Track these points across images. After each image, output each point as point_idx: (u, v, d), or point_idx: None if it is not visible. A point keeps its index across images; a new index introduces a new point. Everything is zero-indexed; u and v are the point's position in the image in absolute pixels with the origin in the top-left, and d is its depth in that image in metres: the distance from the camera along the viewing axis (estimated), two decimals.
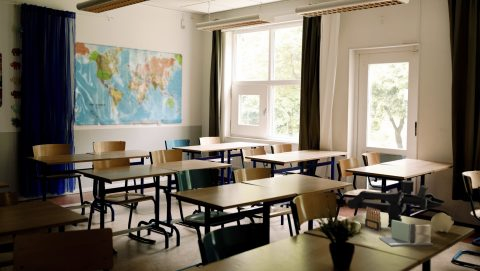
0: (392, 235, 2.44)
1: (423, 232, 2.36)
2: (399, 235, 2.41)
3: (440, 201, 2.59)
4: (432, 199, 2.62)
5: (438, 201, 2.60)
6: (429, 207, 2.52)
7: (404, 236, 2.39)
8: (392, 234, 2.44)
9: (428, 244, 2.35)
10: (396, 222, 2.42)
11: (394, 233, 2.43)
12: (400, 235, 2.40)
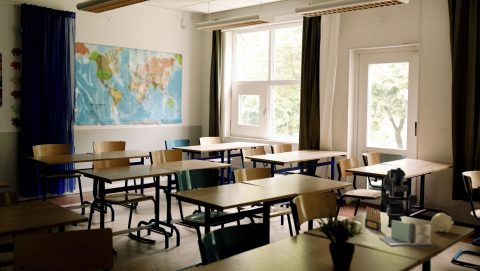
0: (392, 235, 2.44)
1: (423, 232, 2.36)
2: (399, 235, 2.41)
3: (408, 209, 2.50)
4: (409, 202, 2.52)
5: (408, 208, 2.51)
6: (386, 204, 2.56)
7: (404, 236, 2.39)
8: (392, 234, 2.44)
9: (428, 244, 2.35)
10: (396, 222, 2.42)
11: (394, 233, 2.43)
12: (400, 235, 2.40)
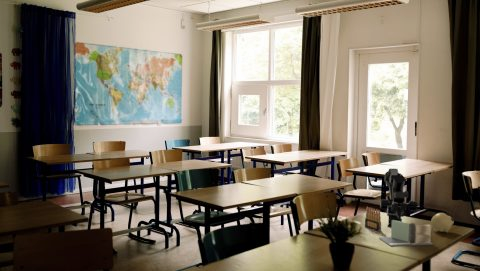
0: (392, 235, 2.44)
1: (423, 232, 2.36)
2: (399, 235, 2.41)
3: (399, 215, 2.48)
4: (400, 208, 2.51)
5: (399, 213, 2.49)
6: (394, 210, 2.52)
7: (404, 236, 2.39)
8: (392, 234, 2.44)
9: (428, 244, 2.35)
10: (396, 222, 2.42)
11: (394, 233, 2.43)
12: (400, 235, 2.40)
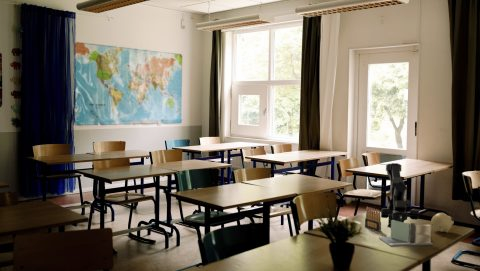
0: (392, 235, 2.44)
1: (423, 232, 2.36)
2: (398, 235, 2.41)
3: None
4: (401, 217, 2.45)
5: None
6: (395, 219, 2.47)
7: (404, 236, 2.39)
8: (391, 234, 2.44)
9: (428, 244, 2.35)
10: (396, 222, 2.42)
11: (394, 233, 2.43)
12: (400, 236, 2.40)
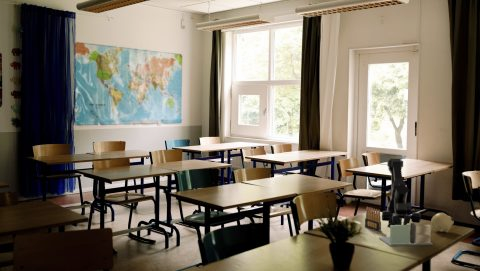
0: (392, 241, 2.34)
1: (423, 232, 2.36)
2: (399, 239, 2.34)
3: None
4: (404, 220, 2.39)
5: None
6: (395, 222, 2.42)
7: (405, 238, 2.35)
8: (391, 241, 2.33)
9: (428, 244, 2.35)
10: (396, 227, 2.33)
11: (394, 239, 2.34)
12: (401, 239, 2.34)
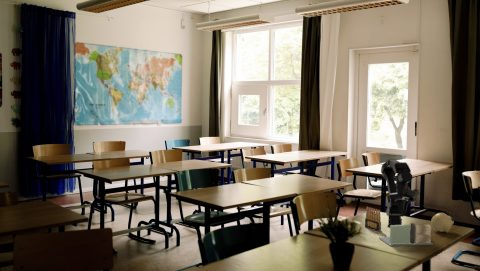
0: (392, 241, 2.34)
1: (423, 232, 2.36)
2: (399, 239, 2.34)
3: None
4: (404, 202, 2.54)
5: None
6: (397, 202, 2.53)
7: (405, 238, 2.35)
8: (391, 241, 2.33)
9: (428, 244, 2.35)
10: (396, 227, 2.33)
11: (394, 239, 2.34)
12: (401, 239, 2.34)
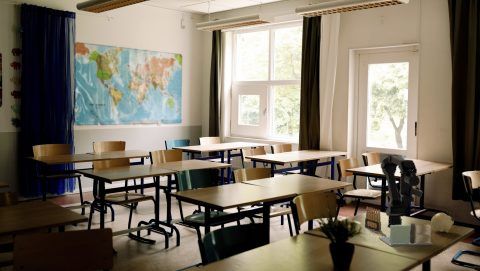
0: (392, 241, 2.34)
1: (423, 232, 2.36)
2: (399, 239, 2.34)
3: None
4: None
5: None
6: (402, 201, 2.52)
7: (405, 238, 2.35)
8: (391, 241, 2.33)
9: (428, 244, 2.35)
10: (396, 227, 2.33)
11: (394, 239, 2.34)
12: (401, 239, 2.34)
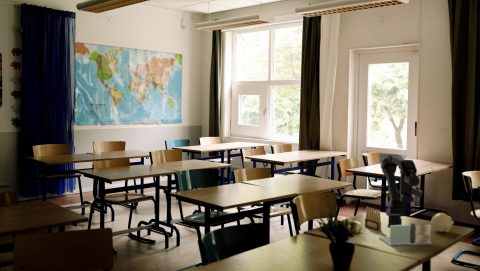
0: (392, 241, 2.34)
1: (423, 232, 2.36)
2: (399, 239, 2.34)
3: None
4: None
5: None
6: (402, 201, 2.52)
7: (405, 238, 2.35)
8: (391, 241, 2.33)
9: (428, 244, 2.35)
10: (396, 227, 2.33)
11: (394, 239, 2.34)
12: (401, 239, 2.34)
